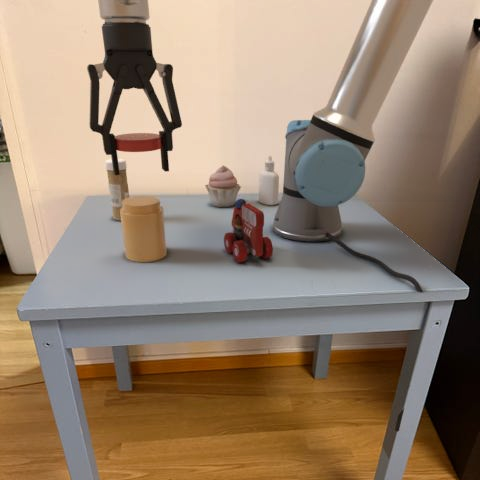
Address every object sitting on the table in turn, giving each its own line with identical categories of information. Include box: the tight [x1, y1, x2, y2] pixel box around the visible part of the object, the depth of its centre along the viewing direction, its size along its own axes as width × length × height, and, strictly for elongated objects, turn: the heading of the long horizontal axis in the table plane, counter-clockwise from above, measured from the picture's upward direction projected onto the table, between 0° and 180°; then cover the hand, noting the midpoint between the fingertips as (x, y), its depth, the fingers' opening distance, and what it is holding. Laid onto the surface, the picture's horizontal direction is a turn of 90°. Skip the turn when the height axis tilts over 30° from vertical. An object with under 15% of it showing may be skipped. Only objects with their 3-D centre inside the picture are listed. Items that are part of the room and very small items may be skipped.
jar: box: [120, 195, 168, 263], centre depth 86 cm, size 8×8×11 cm
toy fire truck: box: [223, 198, 274, 263], centre depth 87 cm, size 7×12×10 cm, turn 22°
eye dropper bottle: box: [257, 155, 280, 206], centre depth 118 cm, size 4×6×12 cm
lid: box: [115, 132, 162, 153], centre depth 80 cm, size 8×8×2 cm
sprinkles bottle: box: [104, 158, 130, 222], centre depth 105 cm, size 5×5×13 cm
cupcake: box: [204, 165, 242, 208], centre depth 117 cm, size 9×9×10 cm
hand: (141, 171), depth 82 cm, fingers closed on lid, 8 cm apart
